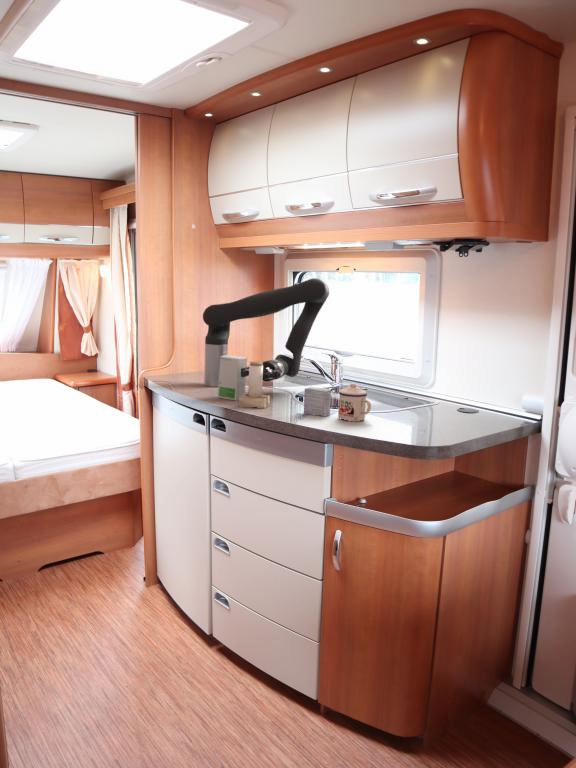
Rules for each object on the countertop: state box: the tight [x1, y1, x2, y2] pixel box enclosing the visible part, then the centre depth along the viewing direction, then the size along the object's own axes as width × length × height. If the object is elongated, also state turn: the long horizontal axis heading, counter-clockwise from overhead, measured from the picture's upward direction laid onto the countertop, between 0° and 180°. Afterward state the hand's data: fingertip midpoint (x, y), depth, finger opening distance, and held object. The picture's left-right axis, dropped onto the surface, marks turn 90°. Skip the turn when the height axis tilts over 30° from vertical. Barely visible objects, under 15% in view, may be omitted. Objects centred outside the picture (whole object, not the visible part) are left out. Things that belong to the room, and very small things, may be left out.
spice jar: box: [247, 361, 264, 398], centre depth 214 cm, size 5×5×12 cm
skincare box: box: [217, 354, 248, 401], centre depth 226 cm, size 8×7×16 cm
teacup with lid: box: [337, 382, 372, 422], centre depth 198 cm, size 12×9×12 cm
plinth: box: [238, 393, 271, 409], centre depth 215 cm, size 9×9×3 cm
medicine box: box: [303, 386, 332, 417], centre depth 204 cm, size 8×4×9 cm, turn 59°
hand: (253, 375), depth 212 cm, fingers open, 8 cm apart
